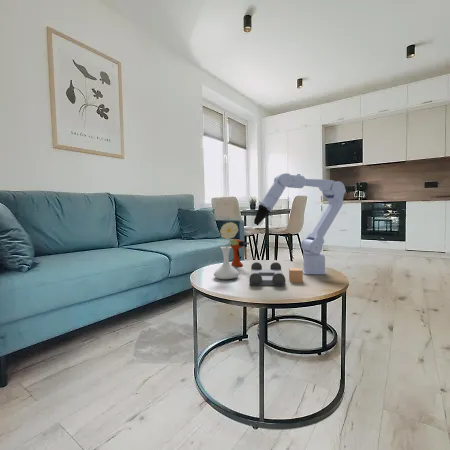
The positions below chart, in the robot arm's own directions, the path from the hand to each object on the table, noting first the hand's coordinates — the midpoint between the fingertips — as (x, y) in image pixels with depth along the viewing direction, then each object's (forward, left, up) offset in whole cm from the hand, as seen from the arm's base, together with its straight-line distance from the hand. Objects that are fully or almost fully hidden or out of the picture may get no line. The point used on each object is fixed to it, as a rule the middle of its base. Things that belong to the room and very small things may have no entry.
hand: (255, 223), depth 123 cm
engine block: (-16, +7, -24) cm, 30 cm away
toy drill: (+9, -20, -24) cm, 33 cm away
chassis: (-4, +4, -24) cm, 25 cm away
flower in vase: (+13, +4, -24) cm, 28 cm away
